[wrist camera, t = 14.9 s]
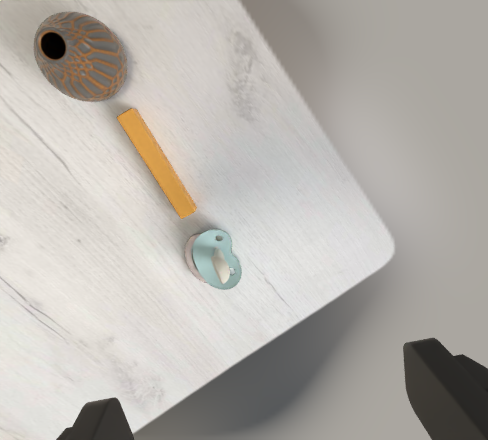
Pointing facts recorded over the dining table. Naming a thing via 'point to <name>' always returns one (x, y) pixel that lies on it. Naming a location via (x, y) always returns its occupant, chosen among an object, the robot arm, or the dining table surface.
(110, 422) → the robot arm
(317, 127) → the dining table surface
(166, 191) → the wooden stick
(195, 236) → the pacifier
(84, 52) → the vase
